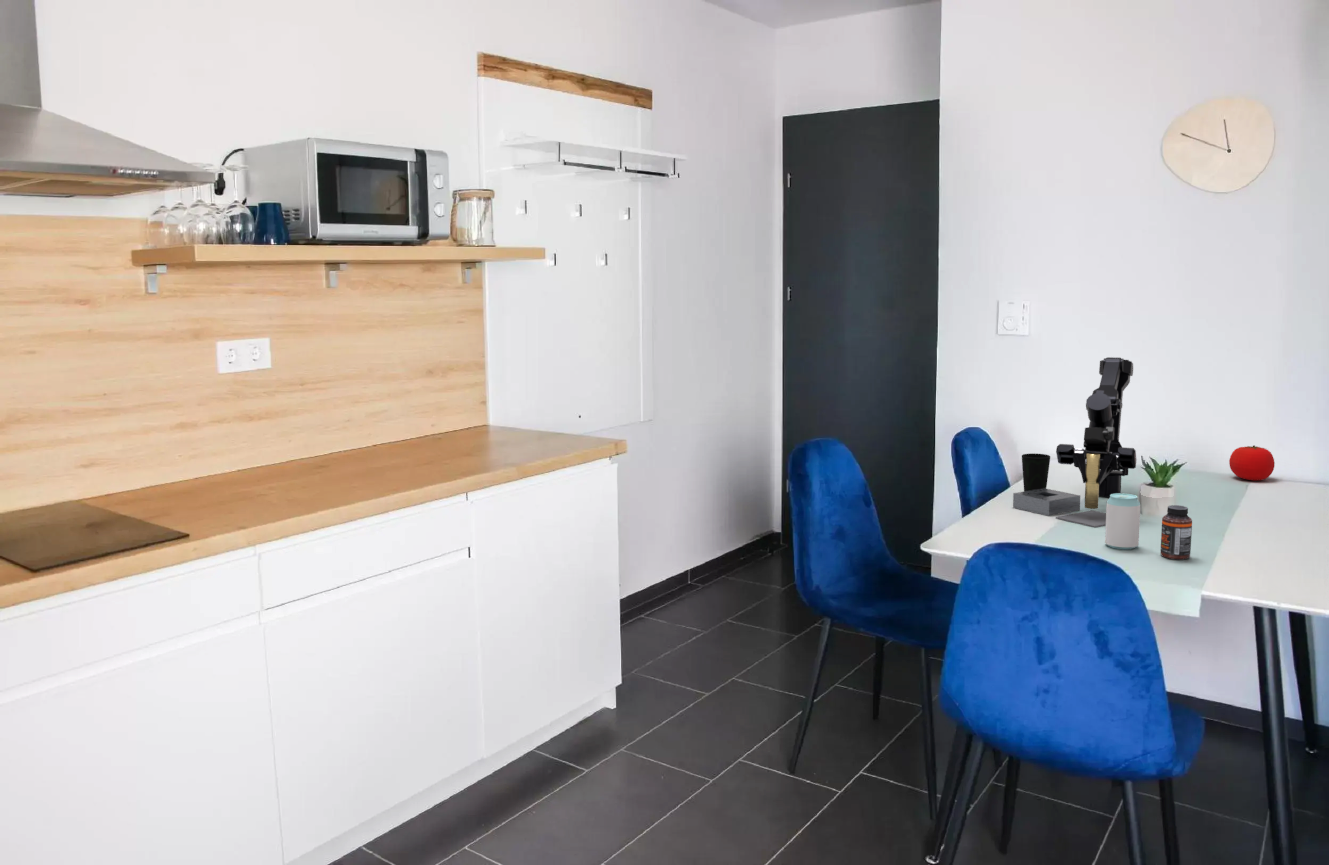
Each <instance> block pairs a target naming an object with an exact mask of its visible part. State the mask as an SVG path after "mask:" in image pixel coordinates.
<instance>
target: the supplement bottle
mask: <svg viewBox="0 0 1329 865" xmlns="http://www.w3.org/2000/svg"><path fill="white" fill-rule="evenodd" d="M1188 511H1189V508H1188V506H1184V505H1177V504H1174V505H1173V504H1172V505H1168V506H1167V510H1166V514H1165V515H1163V516H1162V520H1161V535H1160V536H1161V538H1160V555H1161V556H1162V557H1163V558H1166V559H1171V560H1181V561H1183V560H1187V559H1189V558H1190V557H1191V552H1192V551H1191V548H1192V535H1193V534H1192V533H1193V532H1192V530H1193V519H1192V517H1190V516H1189V515H1188V513H1189V512H1188Z"/></svg>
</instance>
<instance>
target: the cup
mask: <svg viewBox="0 0 1329 865" xmlns="http://www.w3.org/2000/svg"><path fill="white" fill-rule="evenodd" d="M1050 462H1051V456H1050V455H1049V454H1045V453H1023V454H1022V455H1021V466H1022V480H1023V481H1022V482H1023V492H1024V491H1030V490H1036V489H1042V488H1046V489H1047V485H1048V479H1049V470H1050Z"/></svg>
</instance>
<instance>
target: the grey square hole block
mask: <svg viewBox="0 0 1329 865" xmlns="http://www.w3.org/2000/svg"><path fill="white" fill-rule="evenodd" d="M1012 500H1013V501H1012V508H1013V509H1017V510H1022V511H1027V512H1031V513H1035V514H1040V515H1043V516H1048V517H1049V516H1050V517H1051V516H1055V515H1061V514H1066V513H1071V512H1076V511H1081V494H1080V495H1079V494H1075V493H1071V492H1067V491H1066V492H1065V491H1060V490H1056V489H1049V488H1047V487H1046V488H1042V489H1036V490H1030V491H1024V490H1023V491H1019V492H1013V499H1012Z"/></svg>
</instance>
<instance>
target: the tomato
mask: <svg viewBox="0 0 1329 865" xmlns="http://www.w3.org/2000/svg"><path fill="white" fill-rule="evenodd" d="M1228 464H1229V468H1230V470H1231V472H1232V474H1234V475H1235V476H1237V477H1238V478H1241V479H1243V480H1246V481H1247V480H1248V481H1253V482H1256V481H1264V480H1266V479H1268V478H1269V477H1270V476H1271V475H1272V473H1273V472H1274V469H1275V464H1276V463H1275V458H1274V455H1273V454H1272V451H1270V450H1269V449H1267V448H1265V447H1260V446H1256V445H1251V446H1249V445H1247V446H1240V447H1237V448H1236V449H1234V450H1233V451H1232V452H1231V454H1230V458H1229V460H1228Z"/></svg>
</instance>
